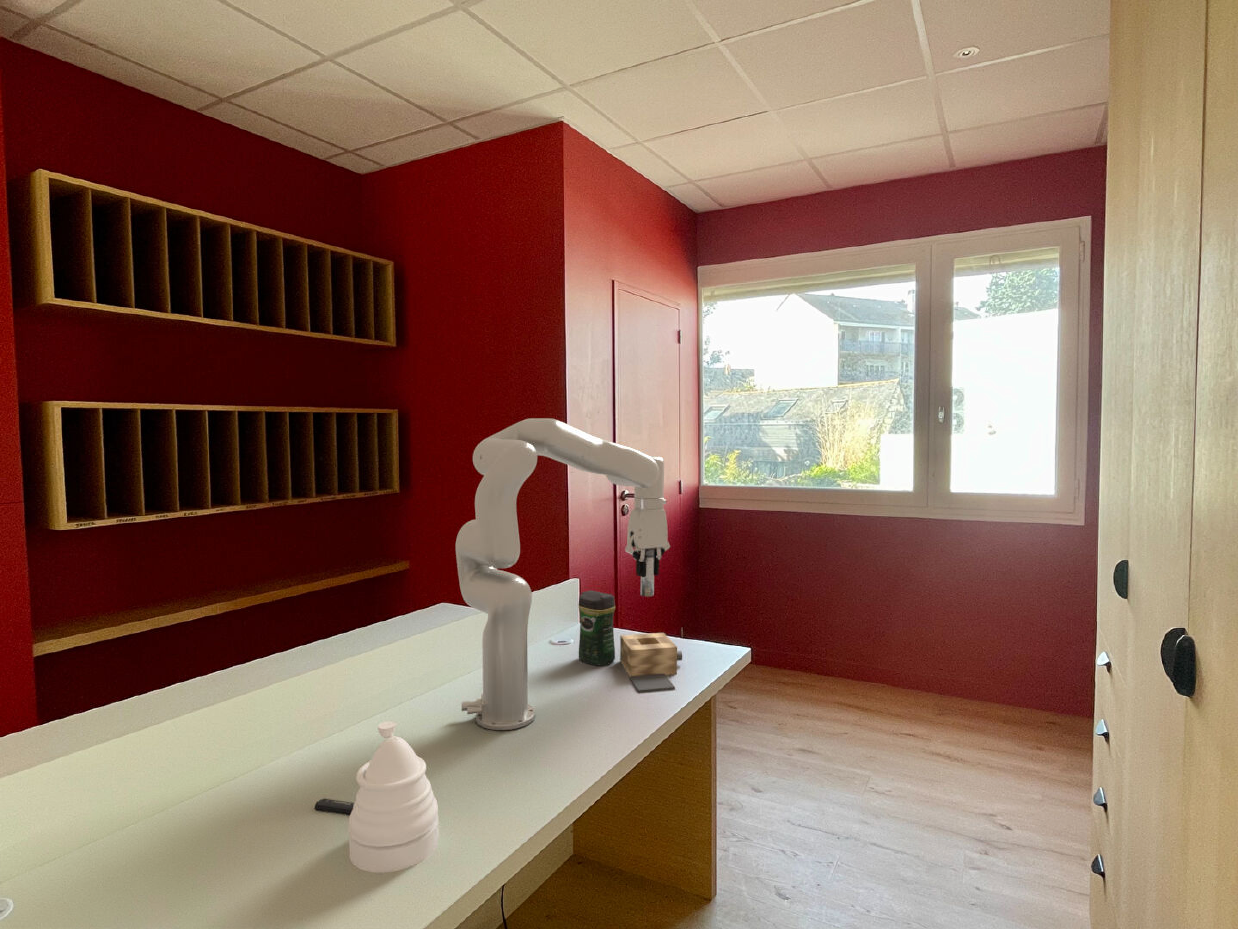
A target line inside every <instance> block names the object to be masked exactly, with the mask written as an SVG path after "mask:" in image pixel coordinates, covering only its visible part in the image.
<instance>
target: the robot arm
mask: <svg viewBox="0 0 1238 929" xmlns="http://www.w3.org/2000/svg"><path fill="white" fill-rule="evenodd" d="M538 456H542V457H546V458H550V459H551V460H554V461H557V462H560V463H563V464H565V465H568V466H569V467H572V468H574V469H576V470H578V471H579V470H580V471H581V472H585V473H586V472H587V473H591V474H597V475H605V476H606V479H607V480H608V481H609V482H610V483H612V484H614V485H616V486H622V487H634V494H633V495H634V496H633V497H634V498H633V509H631V510H630V513H629V518H628V524H627V525H628V526H627V531H626V532H627V533H626V545H625V549H624V551H625V552H626V553H628V554H630V555H631V556H632V557H633V559H634V560H635V562H636V563H635V564H636V565H635V573H636V576H639V577H640V578H641V577H645V576H646V562H645V561H644V555H645V549H655V556H654V576H659V572H660V571H659V570H660V560H661V559H662V556H663V555H664V554H665V552H666V551H668V550H669V549H670V548H671V545H670V542H669V541H668V537H669V536H668V521H667V514H666V510H665V509H664V505H666V504H667V499H666V498H664V494H665V493H664V491H665V490H664V489H665V487H664V486H665V461H664V459H663V458H662V457H661V456H657V455H655V456H650V455H647V454H645V453H643V452H642V451H638V450H636V449H633V448H631V447H629V446H625V445H621V444H618V443H616V442H613V441H609V440H608V439H607V440H606V439H603V438H600V437H597V436H594V435H591V434H589V433H587V432H585V431H582V430H581V429H579V428H576V427H574V426H572V425H570V424H568V423H566V422H563V421H560V420H558V419H555V418H532V417H531V418H526V419H524V420H521V421H518V422H516V423H514V424H512V425H510V426H508V427H506V428H504V429H502V430H501V431H498V432H496V433H494V434H492V435H490V436H489V437H486V438H484V439H483V440H482V441H480V443H478V444H477V446H476V447H475V449H474V450H473V453H472V462H473V466H474V468H475V470H476V471H477V472H478V473H479V474H480V475H482V476H483V477H482V479H481V481H480V482H479V484H478V487H477V488H476V492H475V497H474V510H475V519H471V520H470V521H467V522H466V523H465V524H463V525H462V526H461V528H460V530H459V531H458V533H457V536H456V541H455V555H456V556H455V558H456V564H457V565H456V567H457V576H458V581H459V582H458V583H459V588H460V592H461V596H462V598H463V601H464V602H465V603H466V604H467V606H469V607H470V608H472V609H475V610H477V611H479V612H483V613H485V614H487V620H486V624H485V625H484V629H483V632H482V642H481V643H482V644H481V645H482V647H481V648H482V694H480V698H477V699H476V700H473V701H472V700H471V701H470V700H467V701H461V712H465V711H466V714H467V715H474V714H475V721H476V724H477V725H479V726H480V727H481V728H485V729H487V730H492V731H508V730H510V731H511V730H516V729H520V728H522V727H525V726H527V725H529V724H530V723H532V722H533V720H535V717H536V710H535V708H534V707H533V706H532V705H530V704H529V703H528V700H529V699H528V694H529V692H528V691H529V690H528V689H529V688H528V683H529V680H528V678H529V677H528V670H529V669H528V663H529V662H528V627H529V626H528V625H529V618H530V612H531V607H532V600H533V593H532V589H531V587H530V585H529V583H528V582H527V581H526V580H525V579H524V578H523V577H521V576H520V575H517V574H515V573H511V572H508V571H504V570H502V569H507V568H511V567H513V565H515V564H517V561H518V560H519V557H520V554H521V542H520V534H519V533H520V532H519V524H518V523H519V522H518V514H517V500H518V499H517V498H518V494H519V491H520V490H521V487H522V486H523V484H524V482H526V480H527V479H528V478H529V477H530V476H531V475H532V473H533V472H534V470H535V469H536V467H537V463H538ZM500 569H501V570H500Z"/></svg>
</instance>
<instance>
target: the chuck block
mask: <svg viewBox="0 0 1238 929" xmlns="http://www.w3.org/2000/svg"><path fill="white" fill-rule="evenodd" d="M619 639H620V640H619V641H620V642H619V643H620V645H619V646H620V647H619V649H620V650H619V652H620V653H619V654H620V655H619V656H620V658H619V662H620V664H621V665H622V664H623V665H622V666H623V668H624V669H625V671H626V670H627V671H626V673H627V675H629V677H630V676H639V675H651V674H665V675H666V676H670V674H671V675H677V674H678V661H683V653H682V650H678V646H677V645H676V644H675V643H674V642H673V641H672V640H671V639H670V638H669V637H668V636H667V634H666V633H665V632H656V633H654V632H653V633H641V634H640V633H639V634H624V635H623V634H622V635H620V637H619Z"/></svg>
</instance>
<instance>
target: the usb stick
mask: <svg viewBox="0 0 1238 929" xmlns="http://www.w3.org/2000/svg"><path fill="white" fill-rule="evenodd" d="M354 803H355V802H351V801H346V800H345V801H344V800H343V801H342V800H338V799H337V800H336V799H331V798H322V799H320V800H319V799H318V801H316V803H315V805H314V810H316V811H318V812H324V813H332V814H338V815H345V816H350V814H351V812H352V810H353V806H354Z"/></svg>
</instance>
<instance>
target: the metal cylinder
mask: <svg viewBox="0 0 1238 929" xmlns="http://www.w3.org/2000/svg"><path fill="white" fill-rule="evenodd" d="M654 556H655V549H645V555H644V561H645V562H646V576H645V577H641V576H640V596H642V597H653V596H654V593H655V575H654Z"/></svg>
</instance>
